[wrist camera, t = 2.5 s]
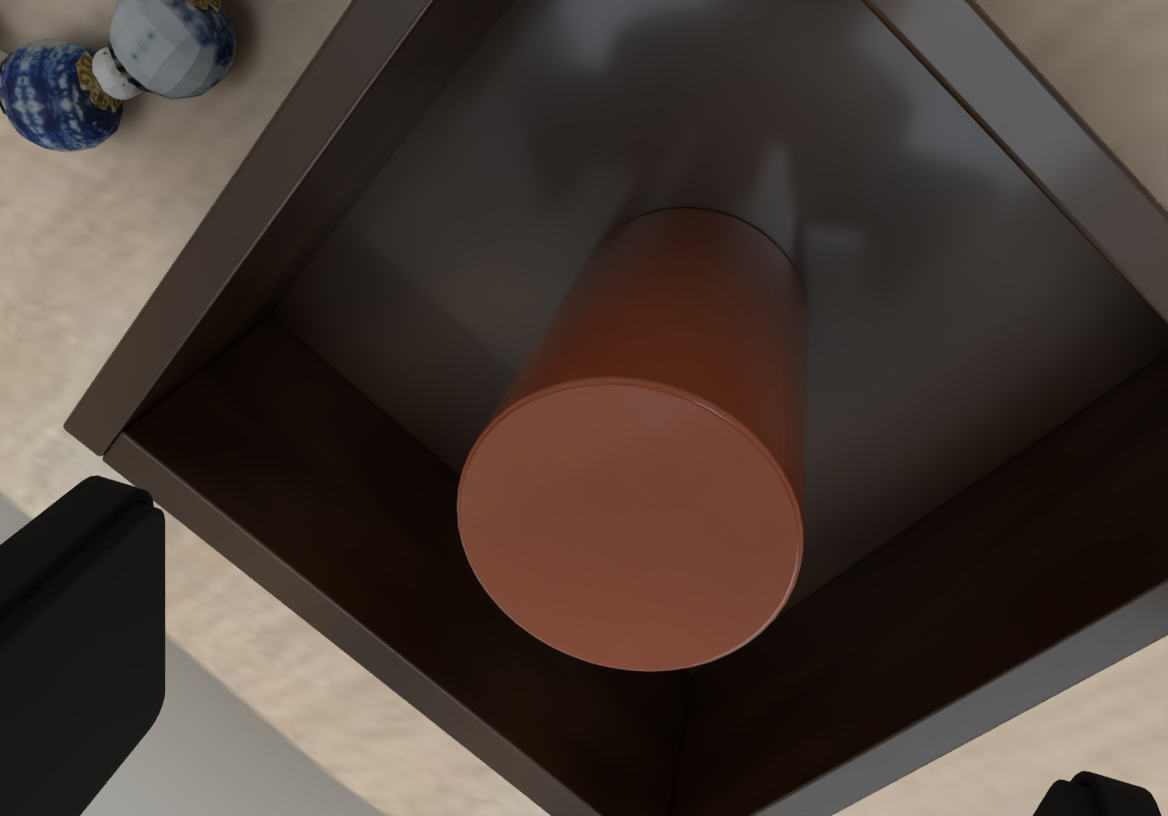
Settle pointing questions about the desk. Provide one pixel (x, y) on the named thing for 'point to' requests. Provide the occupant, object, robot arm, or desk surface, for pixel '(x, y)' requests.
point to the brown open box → (835, 374)
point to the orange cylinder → (651, 451)
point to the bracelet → (115, 71)
